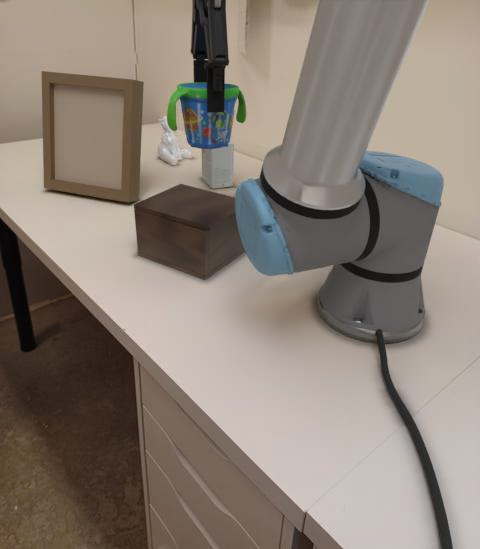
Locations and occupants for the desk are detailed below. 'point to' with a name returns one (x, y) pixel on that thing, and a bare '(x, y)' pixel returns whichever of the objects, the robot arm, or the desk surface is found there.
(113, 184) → the photo frame
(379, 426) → the desk surface
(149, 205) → the lid
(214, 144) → the snack cup
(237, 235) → the box
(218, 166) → the small box
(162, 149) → the white creature statuette
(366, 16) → the robot arm
